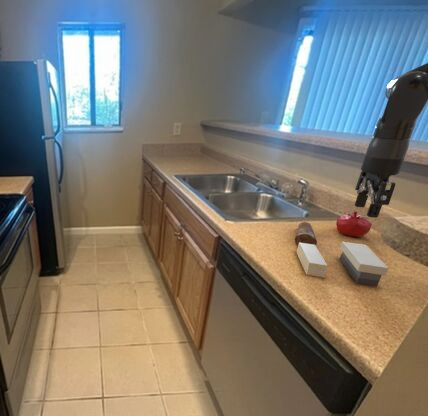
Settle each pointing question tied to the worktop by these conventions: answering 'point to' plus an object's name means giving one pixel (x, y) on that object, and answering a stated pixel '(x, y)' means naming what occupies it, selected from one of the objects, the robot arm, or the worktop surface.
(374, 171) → the robot arm
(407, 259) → the worktop surface
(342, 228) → the pomegranate
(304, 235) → the bread
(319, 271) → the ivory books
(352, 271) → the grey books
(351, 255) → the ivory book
